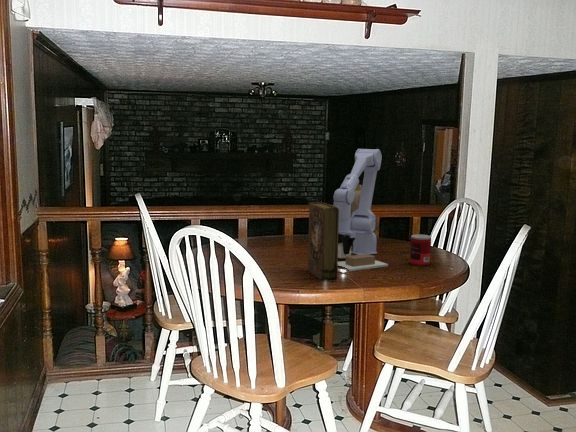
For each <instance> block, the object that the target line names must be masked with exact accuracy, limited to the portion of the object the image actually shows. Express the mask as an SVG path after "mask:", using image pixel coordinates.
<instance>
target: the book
mask: <svg viewBox="0 0 576 432" xmlns="http://www.w3.org/2000/svg"><path fill="white" fill-rule="evenodd" d="M338 227H339V208H338V207H335V206H333V205H332V204H329V203H325V202H321V201H320V202H317V201H316V202H309V210H308V253H307V256H308V258H307V260H308V263H307V265H308V266H307V271H308V272H309V273H310V274H312V275H314V276H315V277H316V278H318V279H319V280H321V281H324V280H337V279H338V268H339V267H338V262H339V258H338Z"/></svg>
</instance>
